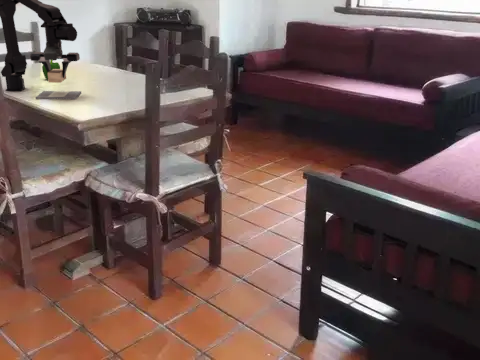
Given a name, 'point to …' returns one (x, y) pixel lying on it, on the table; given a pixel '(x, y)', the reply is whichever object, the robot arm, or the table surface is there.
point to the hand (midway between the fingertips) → (57, 77)
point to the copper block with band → (56, 76)
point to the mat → (58, 95)
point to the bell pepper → (53, 66)
